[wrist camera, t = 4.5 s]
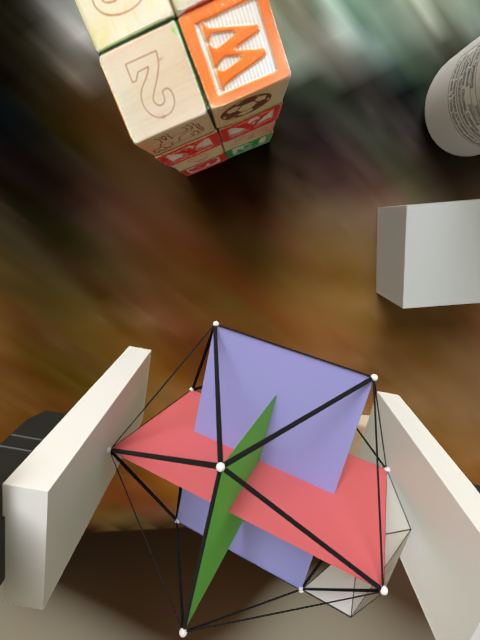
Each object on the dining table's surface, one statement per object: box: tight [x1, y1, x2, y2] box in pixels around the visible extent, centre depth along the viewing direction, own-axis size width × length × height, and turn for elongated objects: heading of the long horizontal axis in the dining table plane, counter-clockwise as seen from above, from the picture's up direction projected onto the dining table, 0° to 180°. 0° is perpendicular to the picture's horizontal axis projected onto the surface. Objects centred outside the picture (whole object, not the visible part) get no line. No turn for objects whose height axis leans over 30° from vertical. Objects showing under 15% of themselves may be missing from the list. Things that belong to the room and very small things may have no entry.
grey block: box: [376, 199, 480, 308], centre depth 23 cm, size 6×6×5 cm
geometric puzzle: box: [107, 321, 411, 637], centre depth 10 cm, size 7×7×8 cm
